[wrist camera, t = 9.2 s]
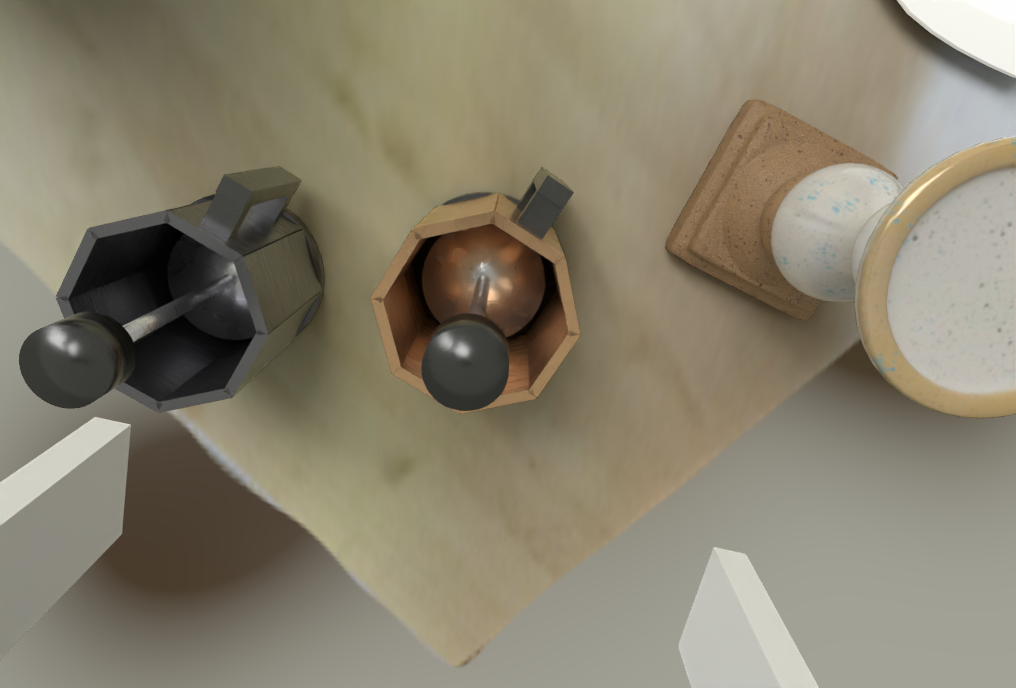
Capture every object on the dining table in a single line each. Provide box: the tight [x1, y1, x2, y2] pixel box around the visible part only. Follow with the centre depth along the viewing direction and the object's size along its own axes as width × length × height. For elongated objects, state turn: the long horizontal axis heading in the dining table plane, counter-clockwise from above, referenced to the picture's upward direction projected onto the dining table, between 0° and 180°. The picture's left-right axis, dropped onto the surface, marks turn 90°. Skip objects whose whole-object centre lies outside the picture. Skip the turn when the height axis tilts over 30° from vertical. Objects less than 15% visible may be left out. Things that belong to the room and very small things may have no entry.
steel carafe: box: [56, 166, 324, 412], centre depth 43 cm, size 11×14×12 cm
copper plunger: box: [421, 223, 545, 411], centre depth 38 cm, size 8×8×19 cm
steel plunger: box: [19, 233, 256, 408], centre depth 38 cm, size 8×8×19 cm
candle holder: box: [665, 100, 1016, 419], centre depth 36 cm, size 11×11×24 cm
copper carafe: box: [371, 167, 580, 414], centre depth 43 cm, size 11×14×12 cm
